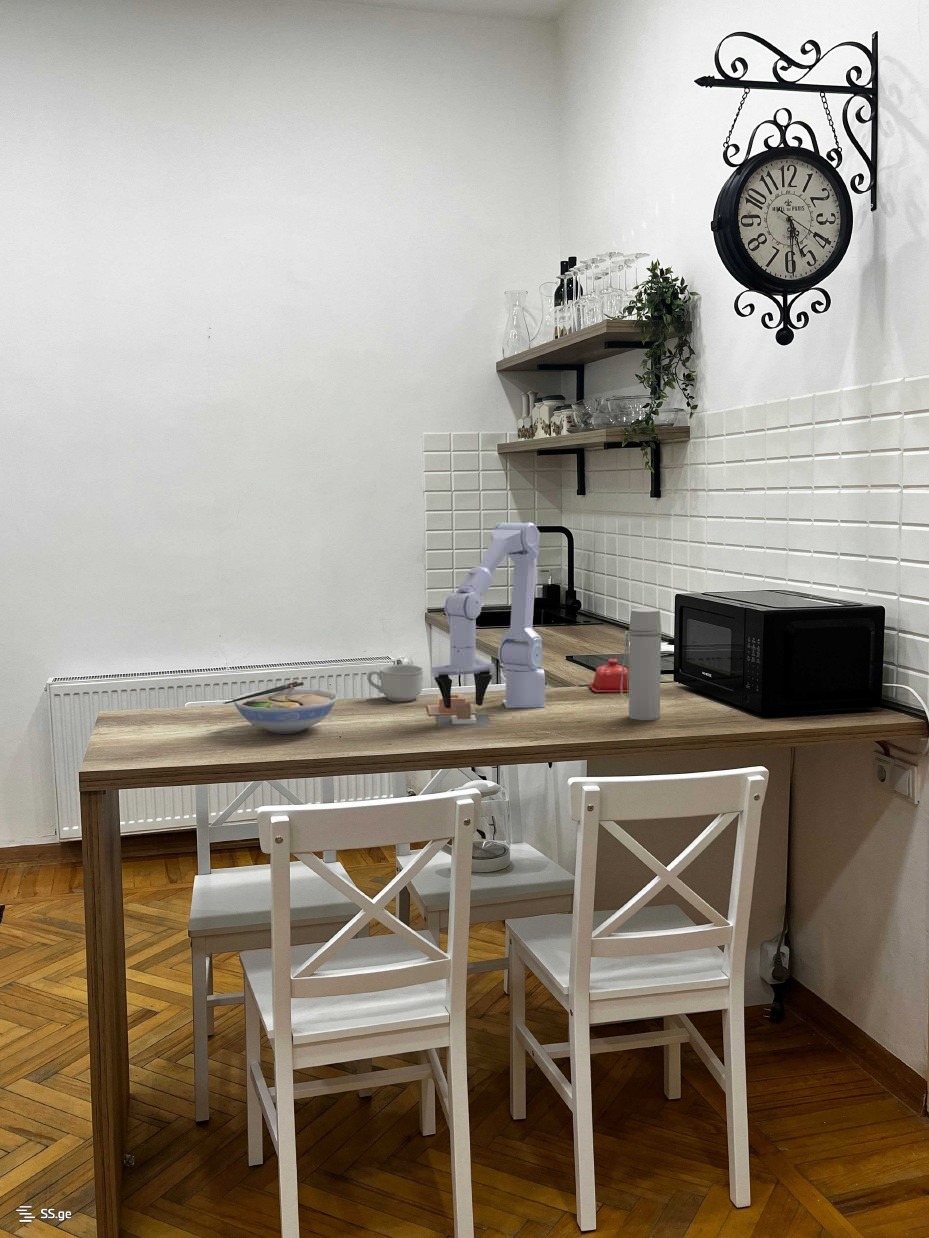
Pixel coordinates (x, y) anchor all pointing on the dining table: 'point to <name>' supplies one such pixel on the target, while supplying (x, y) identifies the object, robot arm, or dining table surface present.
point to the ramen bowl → (285, 707)
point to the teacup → (399, 681)
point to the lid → (463, 714)
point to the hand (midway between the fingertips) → (463, 706)
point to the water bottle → (643, 664)
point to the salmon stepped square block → (442, 711)
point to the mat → (447, 723)
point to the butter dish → (609, 678)
